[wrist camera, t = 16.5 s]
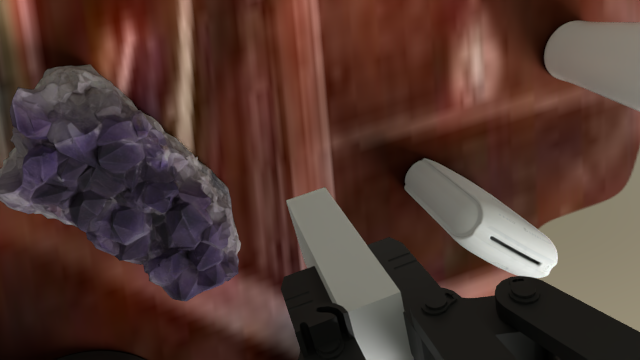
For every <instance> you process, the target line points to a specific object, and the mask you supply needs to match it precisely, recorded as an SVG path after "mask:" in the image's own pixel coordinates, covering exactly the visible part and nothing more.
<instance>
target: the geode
mask: <svg viewBox="0 0 640 360" xmlns="http://www.w3.org/2000/svg"><path fill="white" fill-rule="evenodd" d="M10 115H11V120H12V124H13V126H14V128H13V130H12V131H13V136H12V138H11V140H10V141H11V142H13V143H14V145H15V148H14V149H13V150H12V151H11V152H10V153H9V158H7V159H5V160H3V164H4V165H3V167H2V168H1V169H0V201H2V202H3V203H5V204H6V206H7V207H9V208H11V209H13V210H18V211H22V212H24V213H27V214H30V213H35V214H38V213H39V214H43V215H44V216H45V217H47V218H56V219H58V220H60V221H61V222H63V223H64V224H67V225H74V226H76V227H78V228H79V229H80V230H82V231H84V232H86V235H87V239H88V240H90V241H92V242H93V244H94V246H95V247H96V248H97V249H99V250H102V251H104V252H107V253H109V254H111V255H114V256H115V257H116V258H118V259H119V260H124V261H128V262H131V263H136V264H140V265H141V264H143V265H144V271H145V272H146V273H148V274H149V281H151V282H153V283H155V284H157V285H159V286H161V287H162V288H163V289H164V290H165V291H166V292H167V294H168V295H169V296H170V297H171V298H173V299H175V300H180V301H188V300H189V299H191V298H193V297H194V296H196V295H197V294H199V293H201V292H203V291H206V290H210V289H212V288H214V287H217V286H219V285H222V284H223V283H224V282H225V281H229V280H230V279H231V278H233V277H234V276H235V275H237V274H238V261H239V259H238V257H237V253H238V251H239V250H240V246H241V243H240V241H239V239H238V234H237V231H236V226H235V223H234V219H233V215H232V208H231V198H230V195H229V191H228V188H227V187H226V185H225V184H224V183H223V182H222V181H221V180H219V179H218V178H217V177H216V176H215V174H214V173H213V172H212V171H211V169H209V168H208V167H206V166H205V165H203V164H202V163H201V162H200V161H198V160H197V159H198V157H194V155H193V154H192V153H191V152H189V151H188V150H187V148H185V147H184V145H183V144H182V143H180V142H179V141H178V140H177V139H176V138H175V137H173V136H171V135H169V134H168V133H166V132H165V131H164V130H163V128H162V127H161V125H160V124H159V123H158V122H157V121H156V120H155V119H154V118H152V117H151V116H148V115H146V114H144V113H142V111H141V110H138V109H137V108H136V107H135V105H134V104H133V102H132V101H131V100H130V99H129V98H128V97H127V96H125V95H124V94H123V93H122V92H121V91H120V90H119V89H118V88H116V87H115V86H114V85H113V84H112V83H111V82H110V81H109V80H107V79H105V78H104V77H102V76H101V75H99V73H98V72H97V71H96V70H95V69H94V68H93V67H92V66H91V65H90V64H89V65H83V66H63V67H55V68H52V69H47V70H46V71H45V73H44V75H43V78H42V79H41V80H40V81H39V83H38V84H37V86H36V87H35V89H33V90H30V89H24V88H19V87H18V89H17V91H16V94H15V96H14V97H13V100H12V105H11V107H10Z"/></svg>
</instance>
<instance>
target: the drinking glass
mask: <svg viewBox="0 0 640 360" xmlns="http://www.w3.org/2000/svg"><path fill="white" fill-rule="evenodd" d="M544 63H545V66H546V69H547V71H548V72H549V73H550V74H551V75H552V76H553V77H555V78H557V79H559V80H563V81H566V82H570V83H572V84H575V85H577V86H580V87H582V88H585V89H587V90H589V91H592V92H594V93H597V94H599V95H601V96H604V97H606V98H609V99H611V100H613V101H616V102H618V103H620V104H623V105H625V106H627V107H630V108H632V109H635V110H637V111H639V112H640V22H590V21H581V20H576V21H571V22H568V23H565V24H563V25H562V26H560V27H559V28H558V29H557V30H556V31H555V32H554V33H553V34H552V35H551V37H550V38H549V40H548V42H547V44H546V47H545V51H544Z"/></svg>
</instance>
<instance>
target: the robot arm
mask: <svg viewBox="0 0 640 360" xmlns="http://www.w3.org/2000/svg"><path fill="white" fill-rule="evenodd" d="M286 202H287V205H288V209H289V212H290V215H291V218H292V222H293V225H294V228H295V232H296V235H297V238H298V242H299V245H300V248H301V252H302V255H303V258H304V261H305V264H306V266H307V269H304V270H302V271H299V272H296V273H293V274H291V275H288V276H285V277H284V279H283V283H282V287H281V291H282V294H283V297H284V300H285V303H286V306H287V309H288V312H289V315H290V318H291V321H292V324H293V327H294V330H295V334H296V337H297V340H298V343H299V346H300V356H299V359H298V360H414V359H415V360H640V332H638V331H637V330H635V329H632V328H631V327H629V326H627V325H625V324H623V323H621V322H620V321H618V320H616V319H614V318H612V317H610V316H608V315H606V314H604V313H603V312H601V311H598V310H597V309H595V308H593V307H591V306H589V305H587V304H585V303H584V302H582V301H580V300H578V299H576V298H574V297H572V296H570V295H568V294H566V293H564V292H563V291H561V290H559V289H557V288H555V287H553V286H551V285H549V284H548V283H546V282H544V281H542V280H539V279H536V278H533V277H527V276H516V277H510V278H508V279H505V280H503V281H501V282H500V283H499V284H498V285H497V286H496V290H495V296H488V297H480V298H461V297H460V296H459V295H458V294H457V293H455V292H454V291H452V290H449V289H446V288H441V287H440V286H439V285H438V284H437V283H436V281H435V280H434V279H433V278H432V277H431V276H430V274H429V273H428V272H427V271H426V270H425V269H424V268H423V266H422V265H421V264H420V263H419V262H418V261H417V260H416V258H415V257H414V256H413V255H412V254H411V253H410V251H409V250H408V249H407V248H406V247H405V246H404V244H403V243H401V242H399V241H397V240H394V239H392V238H390V237H388V238H386V239H383V240H380V241H378V242H375V243H372V244H369V245H366V243H365V242H364V241H363V239H362V238H361V236H360V235H359V234H358V232H357V231H356V229H355V228H354V227H353V225H352V224H351V223H350V221H349V220H348V218H347V217H346V216H345V214H344V213H343V211H342V210H341V209H340V207H339V206H338V205H337V203H336V202H335V200H334V199H333V198H332V196H331V195H330V194H329V192H328V191H327V189H326V188H325V187H324V188H321V189H318V190H315V191H313V192H310V193H307V194H304V195H301V196H298V197H295V198H292V199H289V200H286ZM57 360H144V359H142V358H140V357H137V356H134V355H130V354H126V353H121V352H114V351H89V352H82V353H76V354H72V355H68V356H65V357H62V358H59V359H57Z"/></svg>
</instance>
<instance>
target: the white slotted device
mask: <svg viewBox="0 0 640 360" xmlns="http://www.w3.org/2000/svg"><path fill="white" fill-rule="evenodd" d="M405 184H406V185H405V186H404V188H405V190H406V191H407V192H408V193H409V194H410V195H411V196H412V197H413V198H414V199H415V200H416V201H417V202H418V203H419V204H420V205H421V206H422V207H423V208H424V209H425V210H426V211H427V212H428V213H429V214H430V215H431V216H432V217H433V218H434V219H435V220H436V221H437V222H438V223H439V224H440V225H441V226H442V227H443V228H444V229H445V230H446V232H447V233H448V234H449V235H450V236H451V237H452V238H453V239H454V240H456V241H457V242H458V243H459V244H460V245H461V246H463V247H464V248H465V249H467V250H469V251H470V252H472V253H473V254H475V255H477V256H478V257H480V258H482V259H484V260H485V261H487V262H489V263H491V264H493V265H495V266H497V267H499V268H501V269H503V270H505V271H507V272H510V273H512V274H515V275H519V276H527V277H533V278H542V277H545V276H547V275H548V274H549V272H550V270H551V269H552V268H553V267H554V266H555V265H556V264H557V260H558V255H557V250H556V247H555V246H554V244H553V243H552V241H551V240H550V239H549V238H548V237H547V236H546V235H545V234H543V233H542V232H541V231H539V230H538V229H537V228H535V227H534V226H533V225H531V224H530V223H529V222H527V221H526V220H525V219H523V218H522V217H521V216H519V215H518V214H517V213H515V212H514V211H512V210H511V209H510V208H508V207H507V206H506V205H504V204H503V203H502V202H500V201H499V200H498V199H496V198H495V197H493V196H492V195H491V194H489V193H488V192H486V191H485V190H483V189H482V188H480V187H479V186H477V185H476V184H474V183H472V182H471V181H469V180H468V179H466V178H464V177H463V176H461V175H459V174H457V173H456V172H454V171H452V170H450V169H448V168H447V167H445V166H443V165H441V164H439V163H437V162H435V161H432V160H429V159H426V158H424V159H423V160H422V161H418V162H416V163H415V164H414V165H412V167H411V168H410V169H409V170H408V172H407V174H406V177H405Z"/></svg>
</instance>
